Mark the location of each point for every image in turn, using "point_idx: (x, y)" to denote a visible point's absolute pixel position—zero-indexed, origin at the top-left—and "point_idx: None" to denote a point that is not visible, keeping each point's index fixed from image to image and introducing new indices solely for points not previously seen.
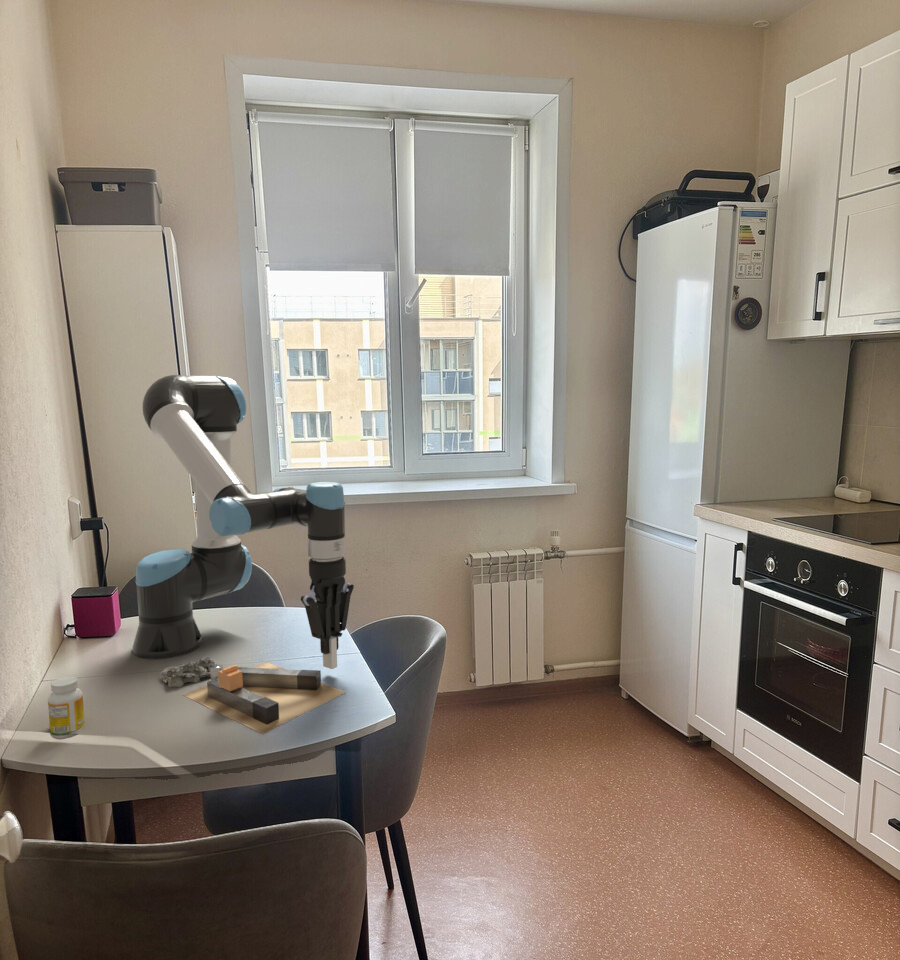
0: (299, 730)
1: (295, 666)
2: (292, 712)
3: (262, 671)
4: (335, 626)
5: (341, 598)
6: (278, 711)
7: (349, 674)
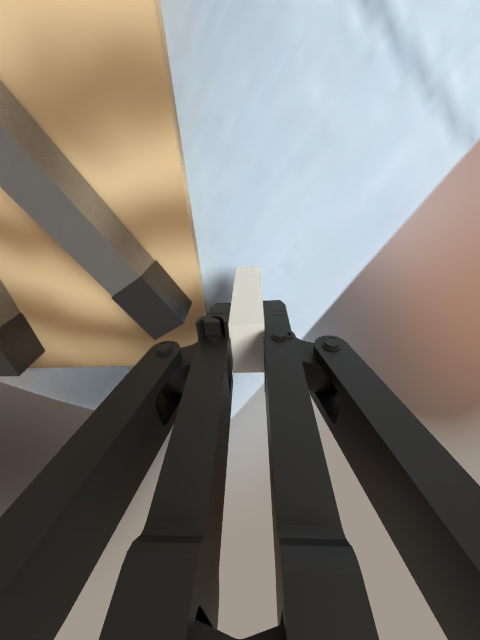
0: (82, 376)
1: (247, 47)
2: (78, 350)
3: (5, 169)
4: (266, 412)
5: (454, 594)
6: (33, 361)
7: (308, 278)
